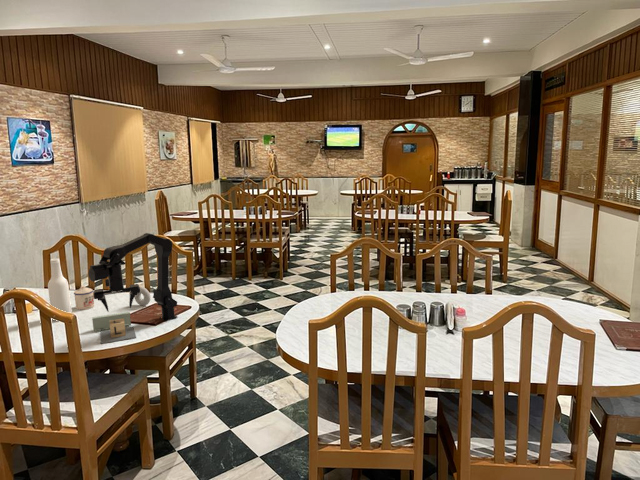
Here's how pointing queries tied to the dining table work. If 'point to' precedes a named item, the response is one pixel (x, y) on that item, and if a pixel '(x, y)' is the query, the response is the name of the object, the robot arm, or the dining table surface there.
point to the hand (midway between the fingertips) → (119, 309)
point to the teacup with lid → (84, 298)
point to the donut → (146, 297)
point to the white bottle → (58, 288)
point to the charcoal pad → (107, 337)
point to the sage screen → (104, 323)
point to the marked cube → (117, 328)
